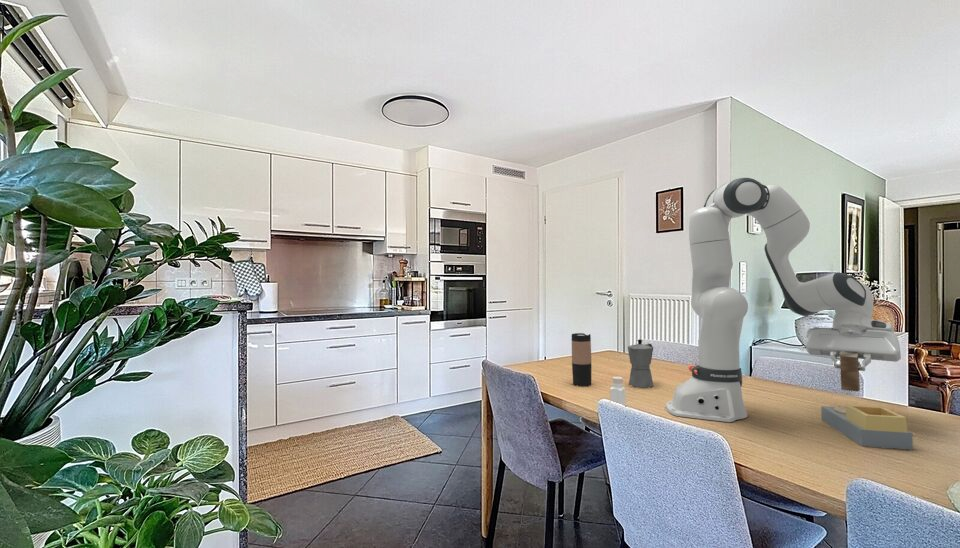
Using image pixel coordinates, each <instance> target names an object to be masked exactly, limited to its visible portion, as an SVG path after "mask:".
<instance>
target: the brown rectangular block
mask: <svg viewBox="0 0 960 548" xmlns="http://www.w3.org/2000/svg"><path fill="white" fill-rule="evenodd" d="M839 360H840V368H839V370H840V386H841V390H843V391H849V392H859V391H860V387H861V386H860V371H859V370H858V367H857V366H858V362H859V359H858V353H855V352H842V351H841V352H840V357H839Z"/></svg>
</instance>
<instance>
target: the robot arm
mask: <svg viewBox="0 0 960 548" xmlns="http://www.w3.org/2000/svg"><path fill="white" fill-rule="evenodd" d="M747 214H748V215H750V216H751V217H752V218H754V219H755V220H756V221H757V223H758V224H759V226H760V228H761V229H762V231H764V234H765V236H766V237H765V238H766V244H765V245H764V252H765V257H766V259H767V261H768V263H769V265H770V266H769V267H771V270H772V273H773V274H774V277H775V279H776V281H777V282H778V285H779V287H780V289H781V292H782V295H783V298H784V302H785V304H786V306H787V308H788V309H789V310H790V311H791V312H792V313H795V314H797V315H800V316H802V317H808V316H811V315H814V314H816V313H819V312H822V311H826V310H831V309H833V310H834V313H835V314H834V316H833V319H832V327H817V326H815V327H812V328H809V329H807V330H806V340H805V350H806V352H807V353H808V354H809V355H813V356H825V357H830V359H831V360H832V362H833V366H834V368H835V369H840V359H838V358H840V352H841V351H842V352H855V353H858V360H859V359H860V360H861V359H862V361H858V366H857V367H858V370H859V372H865V371H866V367H867V366H868V365H870V364H871V363H872V361H873V360H874V361H883V362H884V361H885V362H895V363H896V362H899V361H900V360H901V358H902V357H901V347H900V342H899V338H898V336H897V335H896V334H895V329H894V327H893V324H892V323H890V322H886V321H880V320H876V319H873V318H872V317H873V314H874V298H873V294H872V290H871V289H870V287H869V286H868V285H866V284H865V283H863V282H861V281H859V280H858V279H856V278H855V277H854V276H851V275H849V274H847V273H844V272H841V271H840V272H834V273H831V274H827V275H824V276H823V275H822V276H820V277H819V278H818V277H817V278H814V279H812V280H808V281H806V282H802V281H799V279H798V277H797V276H796V273H795V271H794V269H793V267H792V265H791V262H790V261H789V260H790V259H789V255H790V253H791V252H792V251H793V250H794V249H795V248H797V246H799V245H800V244H801V243H802V241H803V240H804V239H805V238H806V237H807V235H808V234H809V232H810V227H811V226H810V225H811V224H810V220H809V218H808V217H807V214H806V213H805V212H804V210H803V209H802V208H801V206H800V204H798V203H797V201H796V200H795V199H794V198H793V197H792V196H791V195H790V194H789V193H788V192H787V191H786V190H785V189H784V188H783V187H781V186H780V185H777V184H768V185H765V184H763V183H761V182H760V181H758V180H756V179H754V178H751V177H740V178H735V179H733V180H732V181H729V182H726V183H723V184H722V185H720V186H719V187H717V188H715V189H714V190H712V191H711V192H710V193H709V195H708V196H707V198H706V200H705V202H704V205H703V206H702V207H700V208H698V209H696V210H694V211H693V212H692V213H691V214H690V216H689V222H688V223H689V225H688V226H689V227H688V237H689V238H688V239H689V249H690V256H691V257H690V258H691V265H692V278H691V279H692V280H691V282H692V283H691V298H690V305H691V308H692V310H693V311H694V312H695V314H696V315H697V316H698V317H700V318H702V325H701V329H700V334H699V338H698V341H697V342H698V343H697V345H698V349H697V350H698V364H697V365H696V366H695V365H694V364H689V365H688V367H687V368H688V370H689V372H691V377H690V378H689V379H686V380H685V381H684V382H682V383H681V384H679V385H677V387H676V388H675V389H674V391H673V396H672V400H668V401H667V402H666V403H665V409H666V411H667V412H668V413H669V414H671V415H673V416H676V417H683V418H689V419H690V418H692V419H699V420H707V421H717V422H724V423H733V422H735V421H736V420H742V419H745V418H747V417H748V415H749V414H748V412H747V410H746V405H745V402H744V398H743V392H742V387H743V372H742V368H741V366H740V365H741V364H740V341H741V340H740V338H741V334H742V333H741V332H742V328H743V323H744V318H745V316H747V313H748V310H749V303H748V301H747V298H746V296H744V295H743V293H741V292H740V291H739V290H736V289H735V288H733V287H730V281H731V272H732V268H733V264H734V263H733V256H732V255H733V254H732V248H731V247H732V246H731V240H730V234H729V233H730V232H729V225H730V221H731V220H732V219H735V218H740V217H743V216H744V215H747Z"/></svg>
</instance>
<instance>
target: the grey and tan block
mask: <svg viewBox="0 0 960 548" xmlns="http://www.w3.org/2000/svg"><path fill="white" fill-rule="evenodd" d="M820 408H821V412H820V413H821V421H823V422H824V423H825V424H828V425H829V426H830V427H831V428H833V429H835V430H836V431H837V432H839V433H841V434H843V435H844V436H845V437H847V438H849V440H850V439H851V440H852V441H854V442H855V443H856V444H858V445H859V444H860V445H859V446H860V447H866V446H870V447H869V448H880V447H884V448H883V449H893V448H898V449H897V450H906V449H909V450H908V451H913V450H914V444H913V443H914V442H913V432H911V431H910V430H908V426H907V425H908V423H907V422H908V421H907V417H906V416H903V415H901V414H899V413H897V412H894V411H892V410H891V409H888V408H885V407H884V406H874V405H873V406H872V405H871V406H869V405H856V404H855V405H852V404H851V405H850V404H845V406H825V405H824V406H823V405H822V406H821V407H820Z"/></svg>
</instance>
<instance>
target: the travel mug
mask: <svg viewBox="0 0 960 548" xmlns="http://www.w3.org/2000/svg"><path fill="white" fill-rule="evenodd" d="M591 341H592V338H591V334H586V333H583V332H576V333H571V370H572V371H571V372H572V384H573V386H576V385H578V386H577V387H590V386H592V342H591ZM589 385H590V386H589Z"/></svg>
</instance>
